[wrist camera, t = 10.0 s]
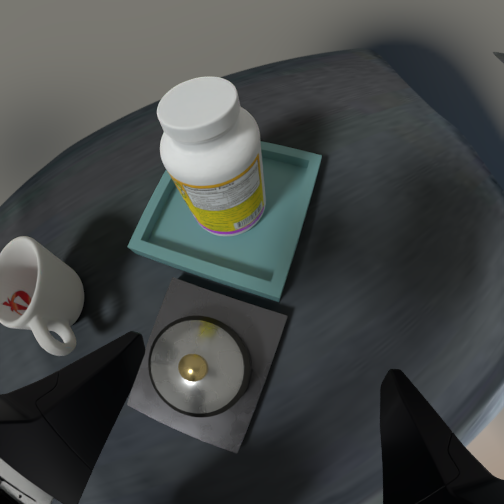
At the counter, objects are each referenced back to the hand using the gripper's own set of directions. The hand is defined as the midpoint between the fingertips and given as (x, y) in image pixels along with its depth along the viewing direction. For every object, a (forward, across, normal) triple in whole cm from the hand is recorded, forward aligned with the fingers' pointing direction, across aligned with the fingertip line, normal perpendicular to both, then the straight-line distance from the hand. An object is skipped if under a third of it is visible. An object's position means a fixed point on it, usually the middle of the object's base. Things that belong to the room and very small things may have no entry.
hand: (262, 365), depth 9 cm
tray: (+19, +6, +1) cm, 19 cm away
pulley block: (+8, +5, +11) cm, 15 cm away
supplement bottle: (+18, +6, 0) cm, 19 cm away
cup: (+10, +20, +10) cm, 24 cm away
